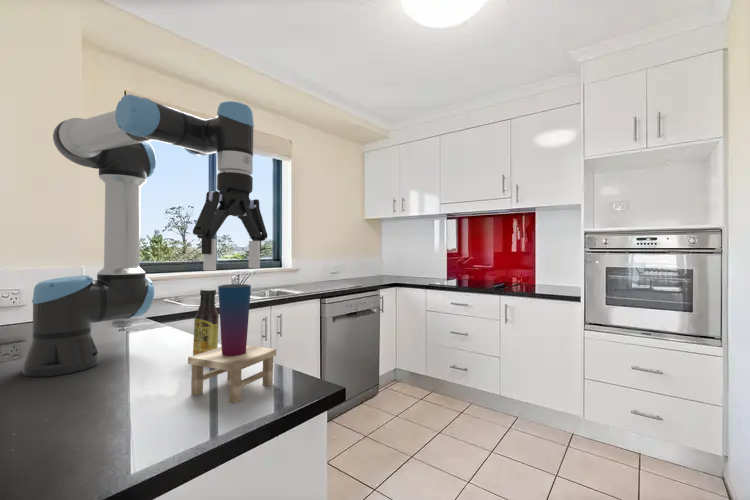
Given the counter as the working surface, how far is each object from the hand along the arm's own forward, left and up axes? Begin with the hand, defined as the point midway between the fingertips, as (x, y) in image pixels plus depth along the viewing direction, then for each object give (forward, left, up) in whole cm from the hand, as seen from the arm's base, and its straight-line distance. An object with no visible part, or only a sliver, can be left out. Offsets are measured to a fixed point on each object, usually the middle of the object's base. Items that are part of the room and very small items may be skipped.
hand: (233, 269), depth 83 cm
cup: (0, 0, -19) cm, 19 cm away
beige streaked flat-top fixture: (+1, 0, -27) cm, 27 cm away
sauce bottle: (-22, +14, -27) cm, 38 cm away
